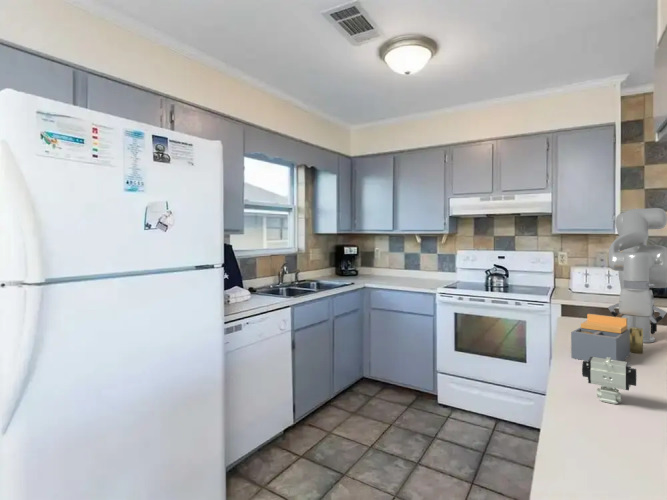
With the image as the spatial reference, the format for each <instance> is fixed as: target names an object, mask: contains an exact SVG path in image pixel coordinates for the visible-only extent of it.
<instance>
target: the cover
mask: <svg viewBox="0 0 667 500" xmlns="http://www.w3.org/2000/svg"><path fill="white" fill-rule="evenodd" d="M586 318H587V320H586V321H583V322H581V323H580V327H581V328H585V329H593V330H600V331H607V332H614V333H622V332H624V331H625V330H627V329H628V327H627V318H622V317H614V316H613V315H612V316H611V315H602V314H595V313H587V316H586Z"/></svg>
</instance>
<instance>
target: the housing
mask: <svg viewBox="0 0 667 500" xmlns="http://www.w3.org/2000/svg"><path fill="white" fill-rule="evenodd" d="M581 331H587V332H592V333H593V334H590V333H583V332H581ZM570 336H571V337H570V340H571V341H570V343H571V345H570V348H571V352H570V353H571V359H575V360H581V361H588V360H589V358H590V357H597V358H603V359H607V357H608V358H609V357H610V358H611V360H617V361H624V362H625V360H626V359H627V358H628V357H630V356H631V352H630V330H629V329H627V330H625V331H624V332H622V333H614V332H607V331H600V330H593V329H585V328H581V326H580V327H578V328H576V329H574V330H573V331H571V333H570Z"/></svg>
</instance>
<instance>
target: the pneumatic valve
mask: <svg viewBox="0 0 667 500" xmlns="http://www.w3.org/2000/svg"><path fill="white" fill-rule="evenodd" d="M581 364H582V365H581V366H582V367H581V373H582V374H581V375H582V377H583V378H586V380H587V383H588V384H592V385H597V386H600V388H598V387H597V389H596V397H597V398H599V401H601V402H602V403H608V404H613V405H618V404H619V403H621V402H622V393H621V392H620V390H624V391H629V390H630V388H631V387H632V386H634V387H636V386H637V381H638V380H637V378H638V377H637V376H638V375H637V373H638V372H637V368H633V367H632V366H631V363H630V361H625V360H624V361H617V360H611V358H610V357H609V358H608V357H607V359H603V358H597V357H590V358H589V360H588V361H585V360H582V363H581Z"/></svg>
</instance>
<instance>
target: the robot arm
mask: <svg viewBox="0 0 667 500" xmlns="http://www.w3.org/2000/svg"><path fill="white" fill-rule="evenodd" d="M666 226H667V213H666V211H665V209H663V208H659V207H652V208H649V207H647V208H635V209H634V208H633V209H629V210H627V211H625V212H621V213H619V214H618V215H616V218H615V229H616V231H617V234H618V237H617V238H615V239H614V241H612V243H610V246H609V248H608V266H609V268H610V270H613V271H616V272H618V273H617V274H618V280H619V284H620V293H619V302H618V303H615V304H613V305H610V306H608V307H607V308H608V311H610V314H611V315H612V316H613V317H622V318H627V327H628V329H629V330H630V327H637V328H642V329H643V344H644V343H645V344H646V343H648V344H649V343H654V342H656V338H655V337H654V336H652V335H655V333H656V332H657V330H658V328H657V327H658V323H659V322H660V321H661V320H662V319H663V320H664V317H665V315H667V311H666V310H664V309H662V308H659V307H657V306H655V299H654V294H653V290H652V289H654V288H655V289H667V246H664V245H648V239H649V230H662V229H664V228H665V227H666ZM650 288H651V289H650ZM616 308H618V312H616V310H615V309H616ZM655 312H657V313H659V315H658V316H657V317H655Z"/></svg>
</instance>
